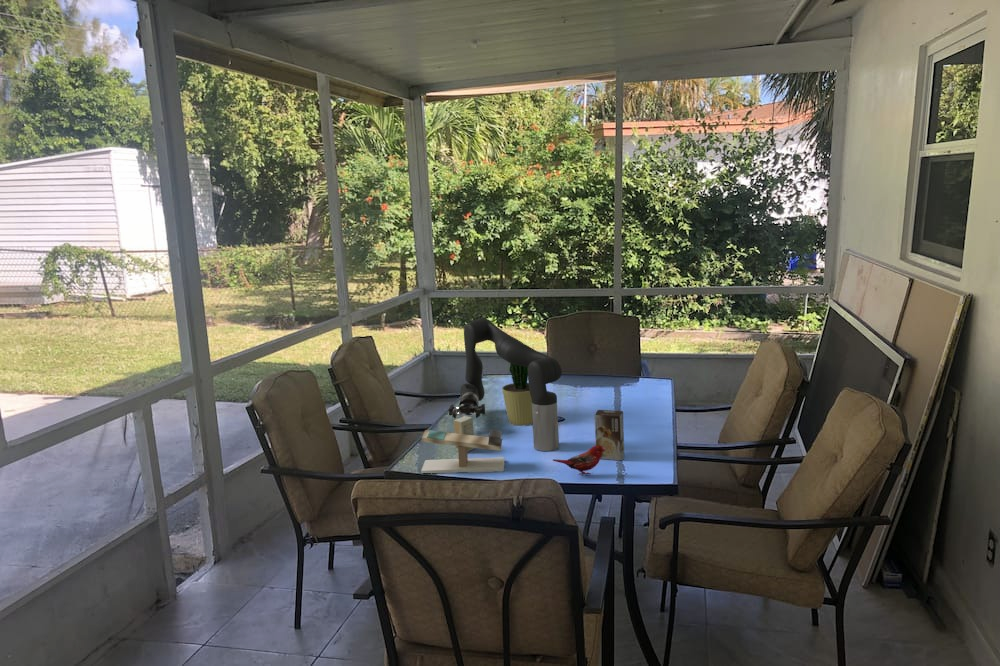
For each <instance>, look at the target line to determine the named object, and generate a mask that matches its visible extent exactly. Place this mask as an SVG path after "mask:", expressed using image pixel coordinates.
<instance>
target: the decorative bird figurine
mask: <svg viewBox="0 0 1000 666" xmlns="http://www.w3.org/2000/svg"><path fill="white" fill-rule="evenodd" d="M604 451H605V450H604V449H603V448H602V447H601V446H600V445H596V444H595V445H594V446H592V447H591V448H589V450H587V451H585V452H582V453H580V454H576V455H574V456H572V457H570V458H568V459H555V458H554V459H552V461H553V462H557V463H561V464H565V465H566V466H567V467H569V468H570V469H573V470H577V471H578V472H579V474H578V475H581V474H589V475H592V474H591V473H592V472H591V473H590V472H586V471H590V470H592V469H594V468H595V467H596V466H597V465H598V464H599V463H600V460H601V459H600V458H601V456H602V453H603V452H604Z"/></svg>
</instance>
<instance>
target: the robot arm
mask: <svg viewBox="0 0 1000 666" xmlns="http://www.w3.org/2000/svg"><path fill="white" fill-rule="evenodd" d="M463 340H464V341H463V343H464V350H465V359H466V361H465V362H466V364H465V375H464V376H465V378H464V379H465V381H466V382H467V383H463V384H462V385H461V386H460V389H459V394H460V400H459V404H458V405H457V406H455V405H454V404H451V405H450V406H449V408H448V416H450V417H451V416H452V418H453V419H457V416H462V415H464V416H472V415H474V416H475V418H476V419H477V418H479V417H480V416H481V414H482V415H483V416H484V415H486V405H485V403H482V404H481V405H480V404H479V403H480V402H481V401H482V400H483V399H484V397H485V387H484V384H483V379H482V378H483V366H484V365H483V362H482V360H481V358H480V357H479V355H478V354H477V352H476V346H477V344H480V343H483V342H485V341H490V342H492V343H494V347H495V352H496V354H497V355H498V356H499V357H500V358H501V359H503V360H504V361H506V362H508V363H509V364H510V363H512V364H515V365H519V366H524V367H528V378H527V379H528V380H527V383H529V392H530V396H531V399H532V418H533V424H532V438H533V441H532V442H533V448H534V450H536V451H540V452H541V451H542V452H549V451H550V452H551V451H555V450H560V438H559V435H560V434H559V422H558V420H559V419H558V417H559V416H558V415H559V414H558V396H557V394H556V393H555V392H552V391H548V389H547V384H552V383H555V382H556V381H558V380H559V379H560V378H561V376H562V374H563V372H562V370H563V369H562V367H561V365H560V363H559V361H557V360H556V359H555V358H553V357H551V356H549V355H547V354H544V353H542V352H540V351H538V350H535V349H534V348H533V347H530V346H529V345H527V344H525V343H523V342H522V341H520V340H519V339H517V338H515V337H514V336H511V335H510V334H508V333H507V332H505V331H503V330H502V329H501V328H499V327H498V326H497V325H496V324H494V323H493V322H492V321H490V320H489V319H488V318H479V319H476V320H472V321H469V322H467V323H466V324H465V325H464V327H463Z"/></svg>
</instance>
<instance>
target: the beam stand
mask: <svg viewBox="0 0 1000 666" xmlns="http://www.w3.org/2000/svg"><path fill="white" fill-rule="evenodd" d="M457 454H458V458H449V459H448V458H445V459H442V458H441V459H426V460H424V463H423V465H422V467H421V470H420V472H421V473H431V474H430V475H432V473H437V475H438V473H439V474H458V473H457V472H468V473H487V472H489V473H490V472H491V473H492V472H494V471H497V472H504V471H505V463H504V462H505V461H506V459H505V457H503V456H502V457H501V456H500V457H477V458H476V457H475V458H468V457H469V456H468V452H467V447H463V446H458V452H457ZM421 473H420V474H421Z"/></svg>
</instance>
